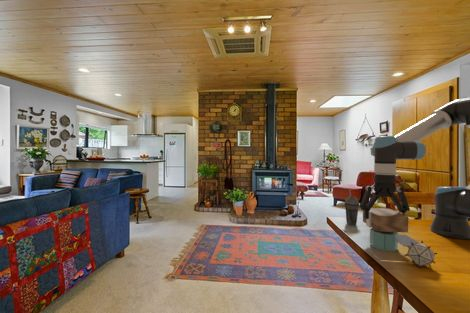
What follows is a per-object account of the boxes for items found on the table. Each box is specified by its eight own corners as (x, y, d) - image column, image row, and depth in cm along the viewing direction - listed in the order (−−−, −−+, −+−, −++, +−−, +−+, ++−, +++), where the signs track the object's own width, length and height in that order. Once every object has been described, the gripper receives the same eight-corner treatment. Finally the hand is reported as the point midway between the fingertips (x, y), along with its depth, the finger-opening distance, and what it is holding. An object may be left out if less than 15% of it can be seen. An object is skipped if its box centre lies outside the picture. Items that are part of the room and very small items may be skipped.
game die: (415, 276, 81) (395, 251, 82) (419, 260, 86) (400, 237, 88) (444, 274, 74) (422, 247, 76) (446, 256, 80) (426, 231, 81)
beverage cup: (361, 227, 122) (361, 189, 122) (346, 226, 123) (346, 188, 123) (356, 223, 129) (357, 187, 129) (342, 222, 130) (343, 186, 130)
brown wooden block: (389, 222, 102) (389, 208, 102) (407, 232, 89) (408, 216, 89) (362, 221, 103) (363, 207, 103) (377, 231, 90) (377, 215, 90)
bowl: (389, 243, 100) (389, 227, 100) (401, 252, 91) (401, 235, 91) (366, 242, 101) (367, 226, 101) (377, 251, 92) (377, 234, 92)
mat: (405, 235, 111) (405, 234, 111) (428, 248, 96) (428, 247, 96) (385, 234, 112) (385, 233, 112) (404, 247, 97) (404, 246, 97)
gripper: (409, 173, 98) (408, 225, 98) (351, 172, 101) (350, 223, 101) (421, 175, 91) (420, 231, 91) (358, 174, 93) (357, 228, 94)
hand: (383, 227), depth 96 cm, fingers closed on brown wooden block, 11 cm apart
